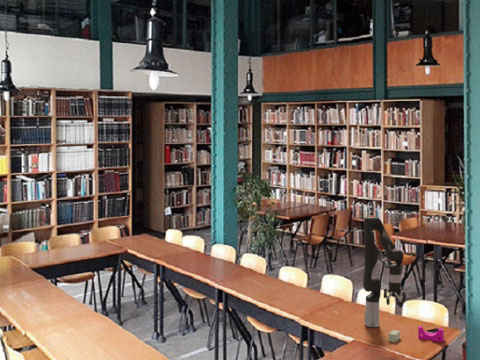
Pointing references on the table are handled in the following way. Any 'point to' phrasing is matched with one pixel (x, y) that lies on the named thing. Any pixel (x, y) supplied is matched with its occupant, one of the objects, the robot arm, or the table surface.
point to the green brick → (394, 336)
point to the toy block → (431, 335)
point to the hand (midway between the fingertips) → (394, 305)
